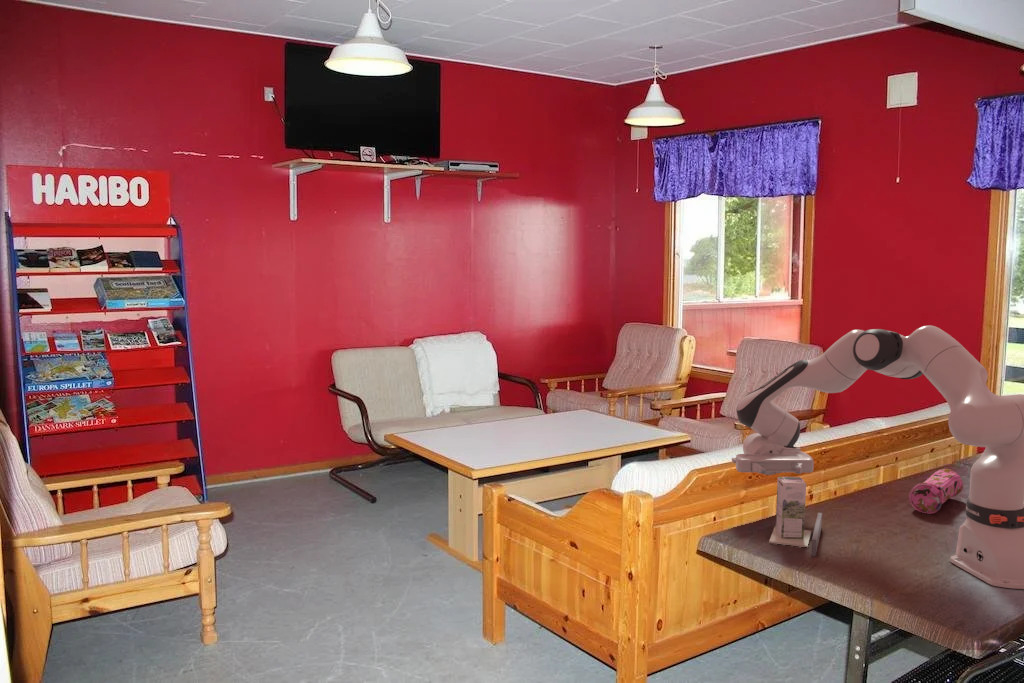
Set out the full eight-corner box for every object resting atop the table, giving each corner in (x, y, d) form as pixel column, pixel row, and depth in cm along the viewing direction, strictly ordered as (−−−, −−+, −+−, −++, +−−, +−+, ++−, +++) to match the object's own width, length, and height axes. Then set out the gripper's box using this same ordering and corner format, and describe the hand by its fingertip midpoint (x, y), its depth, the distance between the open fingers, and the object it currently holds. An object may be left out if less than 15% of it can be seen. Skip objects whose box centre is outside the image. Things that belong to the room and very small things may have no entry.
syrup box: (798, 531, 220) (800, 475, 218) (804, 539, 214) (806, 482, 212) (775, 531, 220) (777, 475, 219) (780, 539, 214) (782, 481, 213)
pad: (811, 533, 221) (811, 530, 221) (807, 548, 210) (807, 545, 210) (774, 528, 224) (774, 526, 224) (769, 543, 213) (769, 541, 213)
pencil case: (942, 518, 232) (944, 486, 231) (906, 511, 238) (908, 480, 237) (964, 500, 249) (965, 470, 247) (929, 494, 255) (931, 464, 254)
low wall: (821, 528, 224) (822, 513, 224) (815, 556, 204) (816, 540, 204) (817, 527, 225) (818, 512, 224) (811, 555, 205) (811, 539, 204)
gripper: (730, 447, 241) (740, 458, 227) (804, 447, 240) (820, 458, 226) (729, 469, 241) (740, 482, 228) (804, 469, 240) (819, 482, 227)
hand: (780, 470), depth 227 cm, fingers open, 8 cm apart
